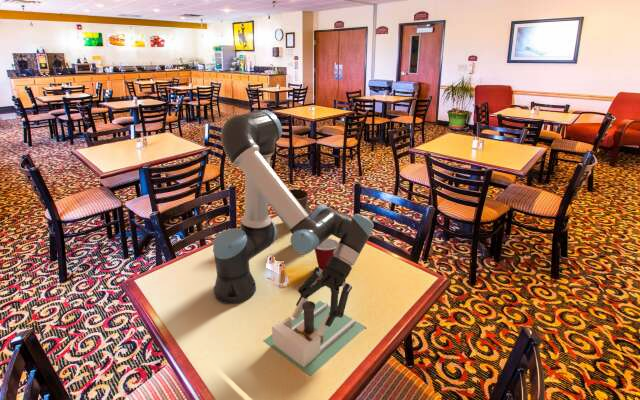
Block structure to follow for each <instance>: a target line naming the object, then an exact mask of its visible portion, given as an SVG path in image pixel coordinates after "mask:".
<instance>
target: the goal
mask: <svg viewBox="0 0 640 400" xmlns="http://www.w3.org/2000/svg"><path fill="white" fill-rule="evenodd" d="M292 320H293V319H292V317H290V316H288V317H287V318H285V319H284V320H283V321H278V322H277V323H275V324H273V325H271V332H272V333H271V335H273V345H275V346H276V347H277V348H279V349H280V350H281V351H283V352H284V353H285V354H287V355H288V356H289V357H291V358H292V359H293V360H295V361H296V362H297V363H299V364H300V365H301V366H303V367H305V366H306V365H307V364H308V363H310V362H311V361H312V360H313V359H314V358H315V357H317V356H318V355H319V354H320V353H321V349H320V337H319V336H317V337H315V338H314V339H313V340H312V341H310V342H309V341H308V340H306V339H305V338H303V337H302V336H300V335H299V334H297V333H296V332H294V331H293V330H292Z"/></svg>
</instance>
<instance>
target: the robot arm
mask: <svg viewBox="0 0 640 400" xmlns="http://www.w3.org/2000/svg"><path fill="white" fill-rule="evenodd" d="M282 134H283V127H282V124H281V121H280V120H279V118H278V116H277V115H276V114H275V113H273V112H271V110H267V109H262V110H258V109H257V110H254V111H251V112H246V113H242V114H237V115H233V116H231V117H229V118H228V119H227V120H226V121H225V122H224V124H223V125H222V129H221V132H220V142H221V145H222V148H223V151H224V153H225V155H226V157H227V158H228V160H229V161H230V162H231V163H232V165H233V166H234V167H235V168H236V167H238V168H239V169H241V170H242V172H243V174H244V215H242V216H241V218H240V227H239V228H236V227H235V228H234V227H233V228H230V229H225V230H223V231H221V232H219V233H218V234H217V235H216V236H215V237H214V239H213V242H212V243H213V244H212V245H213V246H212V247H213V249H212V252H213V255H214V262H215V269H216V278H215V284H214V288H213V293H214V294H213V295H214V297H215V299H216V300H217V301H218V302H220V303H222V304H230V305H231V304H240V303H243V302H245V301H247V300H249V299H251V298H252V297H253V296H254V295H255V293H256V291H257V285H256V281H255V278H254V277H253V274H252V273H251V270H250V263H249V262H250V260H251V259H253V258H254V257H255V256H257V255H260V253H262V252H263V251H264V250H266V249H268V248H269V247H270V246H271V245H272V244H274V242H275V241H276V240H277V237H278V236H277V235H278V229H277V226H276V225H275V222H274V221H273V220H272V217H271V216H270V214H269V215H268V210H269V206H270V208H271V209H272V211H274V213H275V214H276V216H278V218H279V219H280V220H281V222H283V224H284V225H285V227H286V228H287V229H288V231H289V232H290V233H291V234H292V235H291V236H290V244H291V247H292V248H293V250H294V251H295V252H297V253H298V254H301V255H307V254H310V253H311V252H312V251H315V249H316V248H317V247H318V246H319V245H320V244H321V243H322V242H323V241H325V240H326V239H327V238H329V237H331V236H334V237H336V238H338V239H339V241H338V242H339V243H338V245H337V247H336V248H335V250H334V252H333V255H334V256H332V257H330V259H329V261H328V263H327V265H326V268H325V269H324V270H321V269H320V268H319V267H318V266H315V268H314V270H313V272H312V273H311V274H310V276H309V277H308V278H307V279H306V280H305V281H304V282H303V283H302V284H301V286H299V287H298V289H297V292H298V293H299V296H300V297H299V299H298V300H297V302H296V304H295V305H296V308H295V309H294V312H293V313H292V315H291V318H293V319H295V318H296V319H298V318H299V316H300V315H301V314H302V313H303V312H304V310H303V309H302V304H303V303H304V302H306V301H309V297H310V296H312V295H313V294H315V293H316V292H317V291H319V290H320V289H322V288H324V287H326V288H328V289H330V305H329V306H330V313H329V314H328V313H327V314H326V316H325V318H324V320H323V322H322V323H321V325H320V327H319V329H318V331H317V334H318V335H321V336H323V334H324V332H325V331H326V329H327V327H330V326H331V324H332V322H333V321H334V319H335V318H336V317H340V318H342V317H343V314H344V315H345V310H346V307H347V303H348V298H349V294H350V292H351V291H352V289H353V286H352V285H351V284H349V283H348V282H346V280H347V278H348V277H349V276H350V273H351V271H352V269H353V267H352V266H354V265H355V263H356V262H357V260H358V258H359V256H360V254H361V252H362V250H363V248H364V247H365V245H366V243H367V242H368V240H369V238H370V236H371V234H372V231H373V229H374V227H375V225H374V222H373V221H372V220H371V219H369V218H368V217H366V216H364V215H363V214H360V213H355V214H354V215H353V216H351V217H350V216H347V215H345V214H343V213H341V212H339V211H337V210H335V209H333V208H332V207H329V206H326V205H324V204H320V205H318V206H316V208H315V209H314V210H313V211H312V216H311V217H310V216H309V215H308V213H307V212H306V211H305V210H304V208H303V207H302V206H301V205H300V203H299V202H298V201H297V200H296V198H295V197H294V196H293V194H292V193H291V192H290V191H289V190H290V189H289V188H288V187H287V186H286V184H285V183H284V181H282V180H281V178H280V177H279V175H278V174H277V173H276V171H275V169H273V168H272V166H271V157H272V156H273V155H274V154H275V152H276V143H277V142H279V140H280V139H281V137H282ZM320 276H321V277H320ZM341 287H342V289H341V293H340V288H341ZM339 294H340V297H339Z"/></svg>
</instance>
